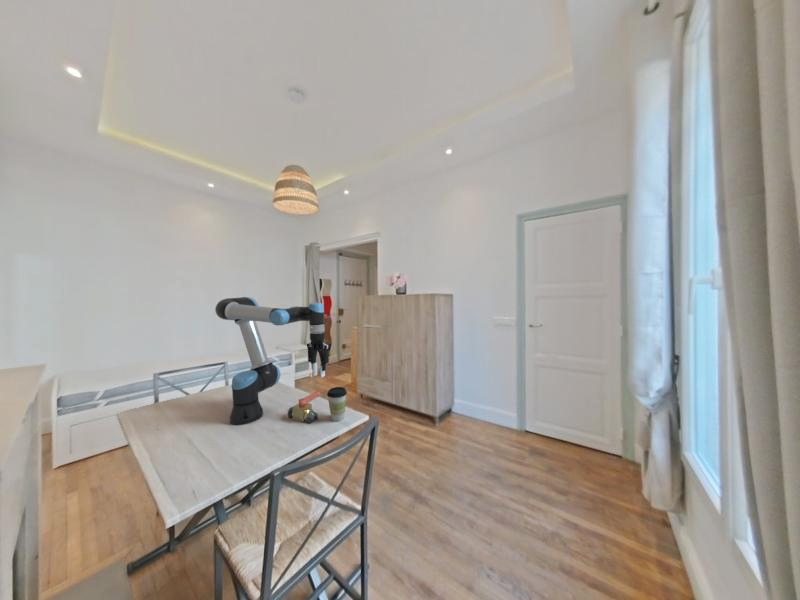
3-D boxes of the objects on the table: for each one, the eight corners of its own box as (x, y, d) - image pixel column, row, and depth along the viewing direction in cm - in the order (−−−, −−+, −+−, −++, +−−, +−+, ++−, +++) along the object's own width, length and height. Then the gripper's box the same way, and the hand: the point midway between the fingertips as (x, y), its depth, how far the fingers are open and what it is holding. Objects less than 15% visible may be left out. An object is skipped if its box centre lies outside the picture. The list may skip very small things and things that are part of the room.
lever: (302, 406, 138) (302, 401, 138) (297, 405, 139) (297, 400, 139) (321, 396, 151) (321, 391, 150) (316, 395, 152) (316, 390, 152)
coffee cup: (343, 424, 134) (342, 394, 133) (324, 422, 136) (323, 393, 135) (350, 414, 144) (349, 387, 143) (333, 413, 145) (332, 385, 145)
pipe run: (287, 419, 141) (286, 404, 141) (295, 413, 147) (295, 400, 146) (310, 425, 135) (309, 410, 134) (318, 419, 140) (318, 405, 139)
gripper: (299, 332, 143) (301, 376, 144) (325, 334, 135) (327, 380, 137) (309, 330, 150) (311, 371, 151) (335, 332, 142) (336, 375, 144)
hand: (318, 375), depth 144 cm, fingers open, 4 cm apart
